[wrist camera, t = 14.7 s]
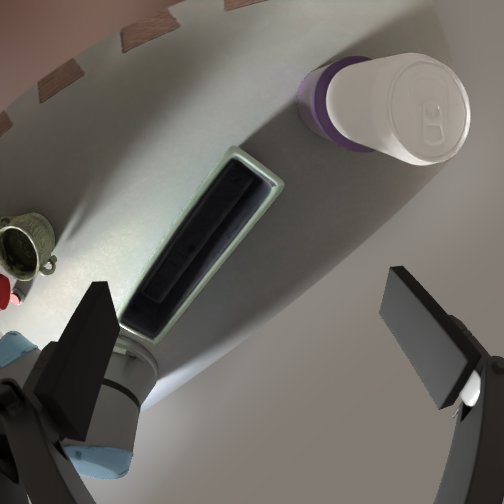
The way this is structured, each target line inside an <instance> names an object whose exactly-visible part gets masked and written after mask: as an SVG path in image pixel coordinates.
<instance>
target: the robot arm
mask: <svg viewBox="0 0 504 504" xmlns="http://www.w3.org/2000/svg"><path fill="white" fill-rule="evenodd" d="M379 314H380V316H381V317H382V319H383V320H384V322H385V323H386V325H387V326H388V327H389V329H390V331H391V332H392V334H393V335H394V337H395V338H396V340H397V342H398V343H399V345H400V346H401V348H402V349H403V351H404V353H405V354H406V356H407V357H408V359H409V360H410V362H411V364H412V366H413V367H414V369H415V370H416V372H417V374H418V375H419V377H420V379H421V380H422V382H423V383H424V385H425V387H426V389H427V390H428V392H429V394H430V396H431V397H432V399H433V401H434V402H435V404H436V406H437V407H438V409H439V410H440V409H443V408H445V407H448V406H451V405H453V404H454V402H455V401H456V399H457V398H458V396H459V395H460V397H461V398H462V400H463V401H462V402H461V404H460V405H459V407H458V408H457V409H456V411H455V412H454V414H453V416H452V418H454V417H455V416H456V415H457V414H458V417H457V422H456V426H455V431H454V436H453V440H452V444H451V448H450V452H449V456H448V460H447V463H446V467H445V470H444V473H443V477H442V480H441V483H440V486H439V489H438V492H437V495H436V498H435V501H434V504H502V502H503V498H504V358H502V357H500V356H492V357H491V356H490V355H489V354H488V352H487V351H486V350H485V349H484V347H483V346H482V345H481V344H480V343H479V342H478V340H477V339H476V338H475V337H474V336H472V333H471V332H470V331H469V330H467V328H466V326H465V325H464V324H463V323H462V322H461V321H460V320H459V319H457V318H456V317H454V316H453V315H448V314H447V313H446V312H445V311H444V310H443V308H442V307H441V306H440V305H439V304H438V303H437V302H436V301H435V300H434V298H433V297H432V296H431V295H430V294H429V293H428V292H427V291H426V290H425V289H424V288H423V286H422V285H421V284H420V283H419V282H418V281H417V280H416V279H415V278H414V277H413V276H412V275H411V274H410V273H409V272H408V271H407V270H406V269H405V268H404V267H403V266H395V267H390V269H389V274H388V278H387V283H386V287H385V291H384V295H383V300H382V303H381V308H380V311H379ZM120 329H121V328H120V325H119V322H118V319H117V315H116V312H115V308H114V305H113V301H112V298H111V294H110V290H109V286H108V283H107V281H98V282H92V283H91V285H90V287H89V288H88V290H87V291H86V293H85V295H84V296H83V298H82V300H81V301H80V303H79V305H78V307H77V308H76V310H75V312H74V313H73V315H72V317H71V319H70V320H69V322H68V324H67V326H66V328H65V329H64V331H63V333H62V335H61V337H60V339H59V341H58V342H54V341H51V342H50V343H49V344H48V345H46V346H45V347H44V348H43V349H42V351H41V350H40V349H38V346H37V345H34V344H32V343H31V342H30V341H29V340H27V339H26V338H25V337H24V336H23V335H22V334H20V333H19V332H17V331H10V332H8V333H6V334H5V335H4V336H3V337H2V338H1V339H0V504H29V501H28V496H29V498H30V500H31V503H32V504H96V502H95V501H94V499H93V498H92V496H91V495H90V493H89V491H88V490H87V488H86V486H85V485H84V483H83V481H82V480H81V478H80V476H79V474H80V475H83V476H87V477H92V478H98V479H118V478H121V477H123V476H125V475H126V474H127V472H128V470H129V466H130V463H131V459H132V457H133V447H134V440H135V435H136V429H137V423H138V417H139V412H140V407H141V405H142V403H143V402H144V400H145V399H146V398H147V396H148V395H149V393H150V392H151V390H152V389H153V387H154V386H155V384H156V380H157V374H158V368H157V364H156V362H155V360H154V358H153V357H152V356H151V354H150V353H149V352H148V351H147V350H146V349H145V348H143V347H142V346H141V345H139V344H138V343H136V342H135V341H133V340H131V339H129V338H126V337H123V336H120V335H119V332H120ZM27 494H28V496H27Z"/></svg>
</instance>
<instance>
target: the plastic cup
mask: <svg viewBox="0 0 504 504" xmlns="http://www.w3.org/2000/svg"><path fill="white" fill-rule="evenodd" d="M9 300H10V282H9V280H8V278H7V277H6V276H4V275H2V274H0V310H4V309H6V307H7V305H8V303H9Z"/></svg>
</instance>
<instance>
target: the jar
mask: <svg viewBox="0 0 504 504" xmlns="http://www.w3.org/2000/svg"><path fill="white" fill-rule="evenodd" d="M370 60H373V59H370V58H367V57H362V56H350V57H345V58H342V59H339V60H336V61H334V62H332V63H331V64H329V65H327V66H324V67H321V68H318V69H316V70H314V71H312V72H311V73H309V74H308V75H307V76H306V77H305V78H304V80H303V81H302V82H301V84H300V86H299V89H298V93H297V108H298V112H299V115H300V117H301V119H302V121H303V122H304V124H305V125H306V126H307V127H308V128H309V129H310V130H311V131H312V132H314V133H315V134H317V135H318V136H321V137H323V138H326V139H328V140H331V141H332V142H334V143H335V144H337V145H339V146H340V147H343V148H345V149H347V150H350V151H354V152H372V151H376V150H375V149H372V148H370V147H367V146H365V145H362V144H359V143H356V142H354V141H351V140H349V139H348V138H346V137H345V136H343V135H342V134H341V133H340V132H339V131H338V130H337V129H336V128H335V126H334V125H333V123H332V121H331V119H330V117H329V115H328V111H327V106H326V95H327V90H328V87H329V84H330V82H331V80H332V79H333V77H334V76H335V75H336V74H337V73H338V72H339V71H340V70H342V69H343V68H345V67H347V66H349V65H353V64H357V63H361V62H365V61H370Z"/></svg>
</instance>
